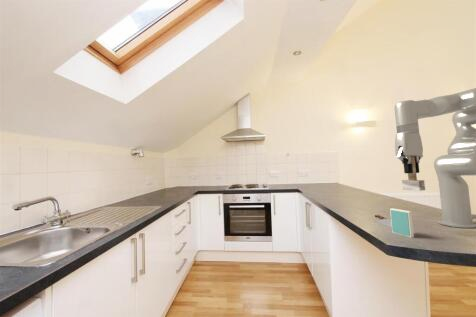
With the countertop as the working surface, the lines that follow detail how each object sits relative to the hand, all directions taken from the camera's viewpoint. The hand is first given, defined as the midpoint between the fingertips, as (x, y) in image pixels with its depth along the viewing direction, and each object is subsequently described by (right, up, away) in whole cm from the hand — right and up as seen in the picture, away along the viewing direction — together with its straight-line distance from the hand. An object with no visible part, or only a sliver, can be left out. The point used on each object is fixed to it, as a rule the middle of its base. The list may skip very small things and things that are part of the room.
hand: (411, 172), depth 93 cm
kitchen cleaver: (+1, -26, +18) cm, 32 cm away
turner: (0, -7, 0) cm, 7 cm away
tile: (-6, -25, -3) cm, 26 cm away
